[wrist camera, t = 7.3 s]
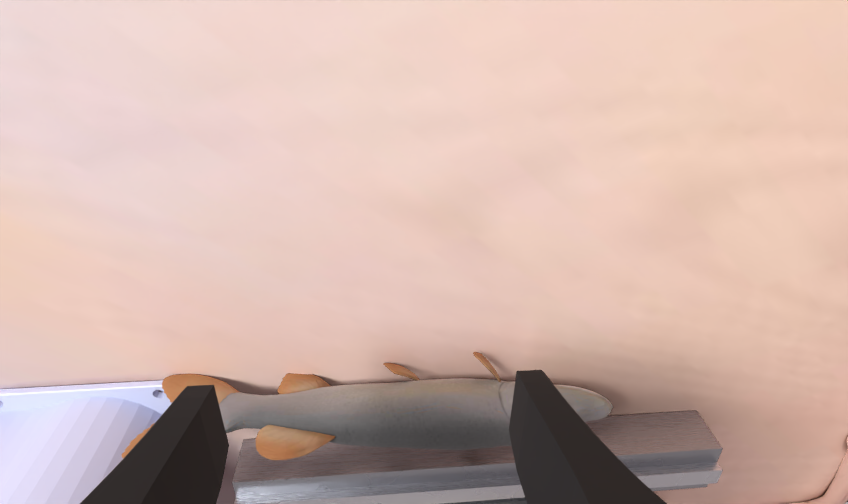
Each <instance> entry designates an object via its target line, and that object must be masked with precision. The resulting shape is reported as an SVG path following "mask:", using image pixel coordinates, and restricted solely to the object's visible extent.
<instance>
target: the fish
mask: <svg viewBox="0 0 848 504" xmlns="http://www.w3.org/2000/svg"><path fill="white" fill-rule="evenodd" d="M473 354H474V356H475V357H476V358H477V359H478V360H480V361H481V362H482V363H483V365H484V366H485V367H486V368H487V369H488V370H489V371H490V372H491V373H492V374H493V375H494V376H495V377H496V379H497V380H492V379H471V378H455V379H431V380H420V379H419V378H418V377H417V376H416V375H415V374H414V373H413V372H411V371H410V370H408V369H406V368H404V367H402V366H400V365H397V364H393V363H384V365H385V366H386V367H387V368H388V369H389V370H390V371H392V372H393V373H394V374H398V375H402V376H405V377H409V378H411V379H413V380H415V381H404V382H393V383H368V384H350V385H338V386H330V385H329V384H328V383H327V382H326V381H324V380H323V379H321V378H320V377H318V376H315V375H305V374H290V373H288V374H286V376H285V377H284V378H283V381H282V382H281V385H280V386H279V389H278V390H277V391H278V395H257V394H248V393H242V392H239V391H238V390H236V389H235V388H234V387H232V386H231V385H229V384H227V383H226V382H224V381H221V380H219V379H216V378H212V377H209V376H204V375H198V374H178V375H172V376H169V377H166V378H165V379H164V380H163V382H162V389H163V390H164V393H165V394H166V395H167V398H168V399H169V400H170V402H171V403H172V402H173V401H174V400H175V399H176V398H177V397H178V395H179V394H180V393H181V392H182V391H183V390H184V389H185V388H186V387H187V386H197V385H214V387H215V391H216V395H217V399H218V403H219V407H220V411H221V415H222V419H223V423H224V427H225V431H226V433H229V432H232V431H235V430H238V429H243V428H258V429H261V430H260V431H259V432H258V435H257V438H256V449H257V451H258V452H259V454H260V455H261V456H263V457H265V458H267V459H270V460H287V459H293V458H297V457H301V456H305V455H307V454H309V453H311V452H313V451H315V450H316V449H318V448H320V447H321V446H323V445H325V444H326V443H328V442H331V443H336V444H342V445H353V446H368V447H398V448H416V449H443V450H470V449H481V448H493V447H498V446H512V445H511V439H510V434H509V424H510V417H511V409H512V402H513V395H514V388H515V381H510V382H507V381H502V380H500V378H499V376H498V374H497V372H496V370H495V369H494V368H493V366H492V365H491V364H490V362H489V361H488V360H487V359H486V358H485V357H484V356H483V355H482V354H480V353H478V352H474V353H473ZM554 386H555V387H556V388H557V389H558V391H559V392H560V393H561V394H562V396H563V397H564V398H565V399H566V401H567V402H568V403H569V404H570V405H571V407H572V408H573V409H574V410H575V411H576V413H577V414H578V415H579V416H580V417H581V418H582V420H583V421H584V422H588V421H593V420H599V419H602V418H604V417H606V416H608V415H609V414H610V413H611V410H612V408H613V406H612V404H611V402H610V401H609V400H608V399H606V398H605V397H604V396H602V395H600V394H598V393H596V392H593V391H591V390H588V389H584V388H580V387H575V386H568V385H559V384H554ZM154 424H155V423H154ZM154 424H152V425H151V426H150V427H149V428H147V429H145V430H144V431H143V432H142V433H141V434H139V435H137V437H136V438H135V439H133V440H132V441H131V442H130V445H129V446H128V447H127V448H126V449H125V452H124V453H122V458H124V457H125V456H126V455H127V454H128V453H129V452H130V451H131V450H132V448H133V447H134V446H135V445H136V444H137V443H138V442H139V441H140V440H141V438H142V437H143V436H144V435H145V434H146V433H147V432H148V430H149V429H150V428H151V427H152V426H153V425H154Z"/></svg>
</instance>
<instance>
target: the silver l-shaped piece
mask: <svg viewBox="0 0 848 504" xmlns="http://www.w3.org/2000/svg"><path fill="white" fill-rule="evenodd" d="M847 446H848V437H847ZM786 504H848V449H847V451H846V453H845V455H844V457H843V459H842V462H841V464H840V466H839V468H838V470H837V472H836V475H835V477H834V479H833V481H832V482H831V484H830V486H829V487H828V489H827V491H826V492H825V494H824V495H823V496H821V497H819V498H816V499H812V500H809V501H805V502H794V503H786Z"/></svg>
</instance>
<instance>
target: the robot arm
mask: <svg viewBox="0 0 848 504" xmlns="http://www.w3.org/2000/svg"><path fill="white" fill-rule="evenodd" d="M162 382H163V380H159V381H141V382H123V383H105V384H87V385H69V386H51V387H33V388H15V389H0V504H216V501H217V498H218V495H219V492H220V488H221V484H222V479H223V474H224V469H225V463H226V458H227V452H228V447H229V444H228V439H227V435H226V431H225V427H224V423H223V419H222V415H221V411H220V407H219V403H218V399H217V395H216V391H215V387H214V385H197V386H187V387H186V388H185V389H184V390H183V391H182V392H181V393H180V394H179V395H178V397H177V398H176V399H175V400H174V401H173V402H172V403H171V402H170V400H169V399H168V398H167V395H166V394H165V393H164V390H163V389H162ZM158 390H161V391H163V392H160V391H158ZM154 423H155V424H154ZM152 424H154V425H153V426H152V427H151V428H150V429H149V430H148V432H147V433H146V434H145V435H144V436H143V437H142V438H141V440H140V441H139V442H138V443H137V444H136V445H135V446H134V447H133V448H132V450H131V451H130V452H129V453H128V454H127V455H126V456H125V457H124V458H122V453H124V452H125V449H126V448H127V447H128V446H129V445H130V442H131V441H132V440H133V439H135V438H136V437H137V435H139V434H141V433H142V432H143V431H144V430H145V429H147V428H149V427H150V426H151V425H152ZM509 434H510V439H511V445H512V450H513V455H514V460H515V465H516V470H517V473H518V476H519V480H520V483H521V486H522V489H523V492H524V495H525V499H526V502H527V504H666V503H665V502H664V501H663V500H662V499H661V498H660V497H658V496H657V495H656V494H655V493H654V492H653V491H652V490H651V489H649V488H648V487H647V486H646V485H645V484H644V483H643V482H642V481H641V480H640V479H639V478H638V477H637V476H636V475H635V474H633V473H632V472H631V471H630V470H629V469H628V468H627V467H626V466H625V465H624V464H623V463H622V462H621V461H620V460H619V459H618V458H617V457H616V456H615V455H614V454H613V453H612V451H611V450H610V449H609V448H608V447H607V446H606V445H605V444H604V443H603V442H602V441H601V440H600V439H599V437H598V436H597V435H596V434H595V433H594V432H593V431H592V430H591V429H590V427H589V426H588V425H587V424H586V423H585V422H584V421H583V420H582V418H581V417H580V416H579V415H578V414H577V413H576V411H575V410H574V409H573V408H572V407H571V405H570V404H569V403H568V402H567V401H566V399H565V398H564V397H563V396H562V394H561V393H560V392H559V391H558V389H557V388H556V387H555V386H554V384H553V383H552V382H551V381H550V379H549V378H548V377H547V376H546V374H545V373H544V372H543V371H542V370H531V371H517V373H516V380H515V388H514V395H513V402H512V409H511V417H510V424H509Z"/></svg>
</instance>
